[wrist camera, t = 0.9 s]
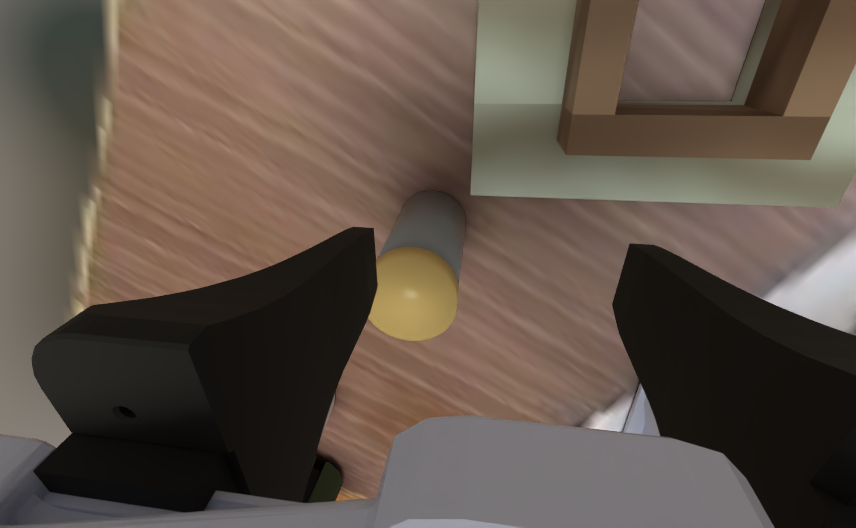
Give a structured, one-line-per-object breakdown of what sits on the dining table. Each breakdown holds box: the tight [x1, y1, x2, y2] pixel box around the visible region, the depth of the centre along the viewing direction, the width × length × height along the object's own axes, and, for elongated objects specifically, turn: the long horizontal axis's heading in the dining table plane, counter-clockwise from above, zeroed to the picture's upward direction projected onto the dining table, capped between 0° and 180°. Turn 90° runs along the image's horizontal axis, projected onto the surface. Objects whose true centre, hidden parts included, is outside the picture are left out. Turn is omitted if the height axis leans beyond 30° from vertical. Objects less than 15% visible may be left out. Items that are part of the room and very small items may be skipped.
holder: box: [470, 0, 856, 208], centre depth 14 cm, size 14×16×4 cm
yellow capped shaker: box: [368, 191, 466, 341], centre depth 18 cm, size 4×4×8 cm
